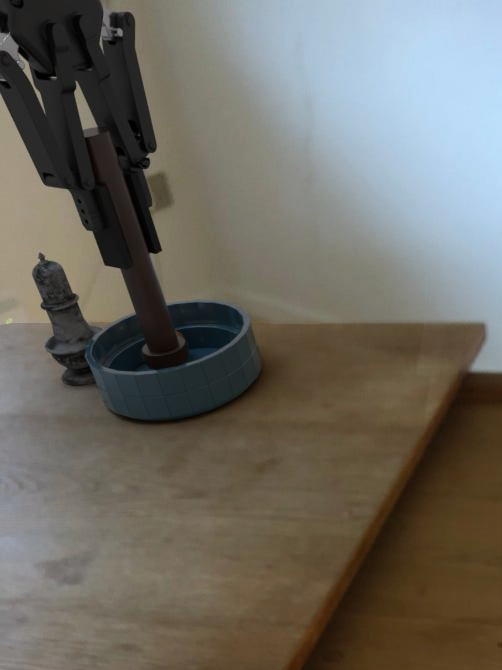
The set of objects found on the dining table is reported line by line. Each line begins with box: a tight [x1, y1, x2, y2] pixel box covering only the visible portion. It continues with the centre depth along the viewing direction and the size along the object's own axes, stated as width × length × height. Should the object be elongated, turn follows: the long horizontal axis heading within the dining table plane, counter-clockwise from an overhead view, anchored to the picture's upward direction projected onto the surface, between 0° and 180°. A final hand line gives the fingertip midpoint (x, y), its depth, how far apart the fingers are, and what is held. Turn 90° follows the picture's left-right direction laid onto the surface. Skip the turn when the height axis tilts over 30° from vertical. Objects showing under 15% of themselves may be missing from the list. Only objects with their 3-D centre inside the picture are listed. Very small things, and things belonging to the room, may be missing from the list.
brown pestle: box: [83, 126, 190, 370], centre depth 82 cm, size 4×4×20 cm
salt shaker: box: [31, 252, 104, 387], centre depth 92 cm, size 6×6×12 cm
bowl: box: [85, 299, 263, 422], centre depth 90 cm, size 15×15×5 cm
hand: (133, 257), depth 82 cm, fingers closed on brown pestle, 3 cm apart
